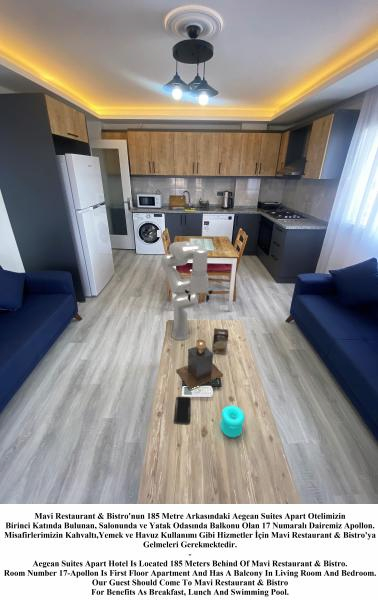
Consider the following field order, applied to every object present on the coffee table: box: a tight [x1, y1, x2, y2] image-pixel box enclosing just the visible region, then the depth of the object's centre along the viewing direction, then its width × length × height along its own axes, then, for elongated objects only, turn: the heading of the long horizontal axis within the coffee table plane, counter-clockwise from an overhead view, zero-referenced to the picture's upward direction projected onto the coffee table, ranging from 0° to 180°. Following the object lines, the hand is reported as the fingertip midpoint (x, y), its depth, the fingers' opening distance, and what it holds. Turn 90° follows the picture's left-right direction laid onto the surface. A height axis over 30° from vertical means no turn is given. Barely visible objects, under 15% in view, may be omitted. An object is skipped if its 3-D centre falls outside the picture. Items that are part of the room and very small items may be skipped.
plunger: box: [195, 339, 207, 354], centre depth 136 cm, size 8×8×21 cm
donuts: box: [219, 405, 246, 438], centre depth 109 cm, size 10×10×10 cm
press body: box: [175, 346, 224, 390], centre depth 137 cm, size 16×22×16 cm
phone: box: [173, 396, 192, 425], centre depth 119 cm, size 8×1×15 cm
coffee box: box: [211, 328, 229, 356], centre depth 156 cm, size 9×6×16 cm
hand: (198, 300), depth 136 cm, fingers open, 9 cm apart
